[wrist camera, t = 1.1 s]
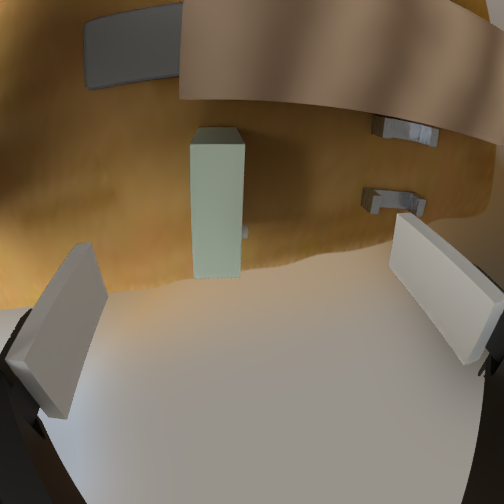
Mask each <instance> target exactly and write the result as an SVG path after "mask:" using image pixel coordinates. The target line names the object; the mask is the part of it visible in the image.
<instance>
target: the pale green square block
mask: <svg viewBox="0 0 504 504" xmlns="http://www.w3.org/2000/svg"><path fill="white" fill-rule="evenodd" d="M244 161H245V143H244V141H243V139H242V137H241V136H240V134H239V132H238V130H237V128H236V127H199V128H198V130H197V132H196V134H195V136H194V138H193V139H192V141H191V143H190V191H191V226H192V250H193V269H194V279H197V278H240V269H241V240H242V239H248V225H242V212H243V186H244Z"/></svg>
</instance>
